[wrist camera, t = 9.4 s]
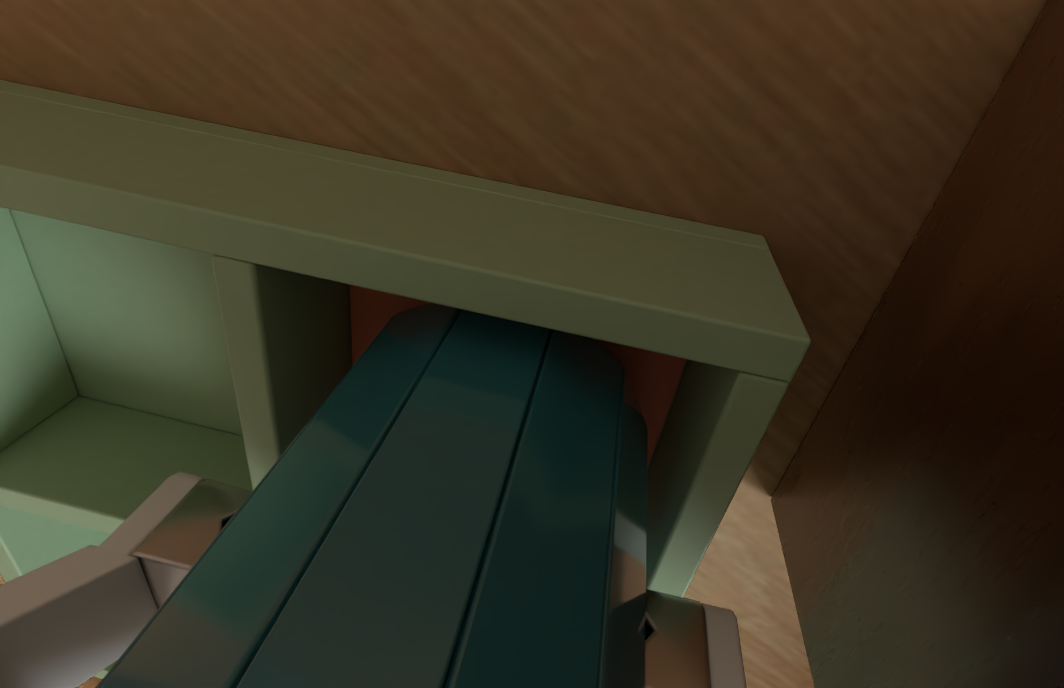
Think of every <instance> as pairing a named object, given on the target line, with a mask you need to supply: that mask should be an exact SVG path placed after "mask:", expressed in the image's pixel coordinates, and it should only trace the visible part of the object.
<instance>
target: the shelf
mask: <svg viewBox="0 0 1064 688" xmlns="http://www.w3.org/2000/svg"><path fill="white" fill-rule="evenodd" d="M771 503H772V507H773V512H774V516H775V520H776V524H777V529H778V533H779V537H780V541H781V546H782V550H783V554H784V558H785V563H786V567H787V571H788V576H789V580H790V584H791V588H792V593H793V597H794V601H795V605H796V610H797V614H798V618H799V622H800V627H801V631H802V635H803V639H804V644H805V648H806V652H807V656H808V661H809V665H810V669H811V674H812V678H813V682H814V686H815V688H1064V0H1049V1H1048V2H1047V4H1046V6H1045V8H1044V10H1043V11H1042V13H1041V15H1040V17H1039V19H1038V20H1037V22H1036V24H1035V26H1034V28H1033V29H1032V31H1031V33H1030V35H1029V37H1028V38H1027V40H1026V42H1025V44H1024V46H1023V47H1022V49H1021V51H1020V53H1019V55H1018V56H1017V58H1016V60H1015V62H1014V64H1013V65H1012V67H1011V69H1010V71H1009V73H1008V74H1007V76H1006V78H1005V80H1004V82H1003V83H1002V85H1001V87H1000V89H999V90H998V92H997V94H996V96H995V98H994V99H993V101H992V103H991V105H990V107H989V108H988V110H987V112H986V114H985V116H984V117H983V119H982V121H981V123H980V125H979V126H978V128H977V130H976V132H975V134H974V135H973V137H972V139H971V141H970V143H969V144H968V146H967V148H966V150H965V152H964V153H963V155H962V157H961V159H960V161H959V162H958V164H957V166H956V168H955V170H954V171H953V173H952V175H951V177H950V179H949V180H948V182H947V184H946V186H945V188H944V189H943V191H942V193H941V195H940V197H939V198H938V200H937V202H936V204H935V206H934V207H933V209H932V211H931V213H930V215H929V216H928V218H927V220H926V222H925V224H924V225H923V227H922V229H921V231H920V232H919V234H918V236H917V238H916V240H915V241H914V243H913V245H912V247H911V249H910V250H909V252H908V254H907V256H906V258H905V259H904V261H903V263H902V265H901V267H900V268H899V270H898V272H897V274H896V276H895V277H894V279H893V281H892V283H891V285H890V286H889V288H888V290H887V292H886V294H885V295H884V297H883V299H882V301H881V303H880V304H879V306H878V308H877V310H876V312H875V313H874V315H873V317H872V319H871V321H870V322H869V324H868V326H867V328H866V330H865V331H864V333H863V335H862V337H861V339H860V340H859V342H858V344H857V346H856V348H855V349H854V351H853V353H852V355H851V357H850V358H849V360H848V362H847V364H846V366H845V367H844V369H843V371H842V373H841V374H840V376H839V378H838V380H837V382H836V383H835V385H834V387H833V389H832V391H831V392H830V394H829V396H828V398H827V400H826V401H825V403H824V405H823V407H822V409H821V410H820V412H819V414H818V416H817V418H816V419H815V421H814V423H813V425H812V427H811V428H810V430H809V432H808V434H807V436H806V437H805V439H804V441H803V443H802V445H801V446H800V448H799V450H798V452H797V454H796V455H795V457H794V459H793V461H792V463H791V464H790V466H789V468H788V470H787V472H786V473H785V475H784V477H783V479H782V481H781V482H780V484H779V486H778V488H777V490H776V491H775V493H774V495H773V497H772V499H771Z"/></svg>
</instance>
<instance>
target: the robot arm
mask: <svg viewBox="0 0 1064 688" xmlns="http://www.w3.org/2000/svg"><path fill="white" fill-rule="evenodd" d="M251 493H252V490H248V489H244V488H241V487H237V486H233V485H229V484H226V483H222V482H218V481H215V480H211V479H208V478H204V477H200V476H196V475H192V474H188V473H184V472H178V473H176V474H174V475H172V476H170V477H168V478H167V479H166V480H165V481H164V482H163V483H162V484H161V485H160V486H159V487H158V488H157V489H156V490H155V491H154V492H153V493H152V494H151V495H150V496H149V497H148V498H147V499H146V500H145V501H144V502H143V503H142V504H141V505H140V506H139V507H138V508H137V509H136V510H135V511H134V512H133V513H132V514H131V515H130V516H129V517H128V518H127V519H126V520H125V521H124V522H123V523H122V524H121V525H120V526H119V527H118V528H117V529H116V530H115V531H114V532H113V533H112V534H111V535H110V536H109V537H108V538H107V539H106V540H105V541H104V542H103V543H102V544H101V545H100V546H99V547H98V546H93V545H89V546H86V547H84V548H82V549H80V550H78V551H75V552H73V553H71V554H69V555H66V556H64V557H62V558H60V559H57V560H55V561H53V562H51V563H49V564H46V565H44V566H42V567H40V568H37V569H35V570H33V571H31V572H28V573H26V574H24V575H22V576H20V577H17V578H15V579H13V580H11V581H8V582H6V583H4V584H2V585H0V688H76V687H78V686H79V685H81V684H82V683H84V682H85V681H87V680H88V679H90V678H91V677H93V676H94V675H96V674H97V673H99V672H100V671H102V670H103V669H105V668H106V667H107V666H109V665H110V664H112V663H113V662H115V661H116V660H118V659H119V658H120V657H121V655H122V654H123V653H124V652H125V650H126V649H127V648H128V647H129V645H130V644H131V643H132V642H133V640H134V639H135V638H136V637H137V635H138V634H139V633H140V632H141V630H142V629H143V628H144V627H145V625H146V624H147V623H148V622H149V620H150V619H151V618H152V617H153V615H154V614H155V613H156V611H157V610H158V609H159V608H160V606H161V605H162V604H163V603H164V601H165V600H166V599H167V598H168V596H169V595H170V594H171V593H172V591H173V590H174V589H175V588H176V586H177V585H178V584H179V583H180V581H181V580H182V579H183V578H184V576H185V575H186V574H187V573H188V571H189V570H190V569H191V568H192V566H193V565H194V564H195V563H196V561H197V560H198V559H199V558H200V556H201V555H202V554H203V553H204V551H205V550H206V549H207V548H208V546H209V545H210V544H211V543H212V541H213V540H214V539H215V538H216V536H217V535H218V534H219V533H220V531H221V530H222V529H223V528H224V526H225V525H226V524H227V523H228V521H229V520H230V519H231V518H232V516H233V515H234V514H235V513H236V511H237V510H238V509H239V508H240V506H241V505H242V504H243V503H244V501H245V500H246V499H247V498H248V496H249V495H250V494H251ZM645 624H646V626H645V688H747V687H746V680H745V673H744V666H743V659H742V652H741V645H740V638H739V631H738V624H737V618H736V616H735V614H734V612H733V611H731V610H730V609H725V608H721V607H716V606H712V605H708V604H703V603H700V601H696V600H691V599H687V598H683V597H679V596H674V595H670V594H666V593H661V592H657V591H653V590H649V589H646V612H645Z"/></svg>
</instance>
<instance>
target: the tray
mask: <svg viewBox="0 0 1064 688" xmlns="http://www.w3.org/2000/svg"><path fill="white" fill-rule="evenodd" d="M428 303H435V304H440V305H445V306H449V307H454V308H458V309H463V310H467V311H472V312H476V313H481V314H485V315H490V316H494V317H499V318H503V319H508V320H512V321H517V322H521V323H526V324H530V325H535V326H539V327H544V328H548V329H553V330H557V331H562V332H566V333H571V334H575V335H580V336H584V337H589V338H592V339H594V340H595V341H596V342H597V343H599V344H600V345H601V346H602V347H604V348H605V349H606V350H607V351H608V352H610V353H611V354H612V355H613V356H615V357H616V358H617V359H618V360H620V361H621V362H622V367H623V366H625V368H626V370H627V372H628V375H629V378H630V381H631V384H632V386H633V389H634V392H635V395H636V398H637V400H638V403H639V406H640V409H641V411H642V414H643V417H644V420H645V423H646V425H647V428H648V447H647V537H646V589H649V590H653V591H657V592H661V593H666V594H670V595H674V596H679V597H683V596H684V594H685V592H686V590H687V588H688V586H689V584H690V582H691V580H692V578H693V576H694V574H695V572H696V570H697V568H698V566H699V564H700V562H701V560H702V558H703V556H704V554H705V552H706V550H707V548H708V546H709V544H710V542H711V540H712V538H713V536H714V534H715V532H716V530H717V528H718V526H719V524H720V522H721V520H722V518H723V516H724V514H725V512H726V510H727V508H728V506H729V504H730V502H731V500H732V498H733V496H734V494H735V492H736V490H737V488H738V486H739V484H740V482H741V480H742V478H743V476H744V474H745V472H746V470H747V468H748V466H749V464H750V462H751V460H752V458H753V456H754V454H755V452H756V450H757V448H758V446H759V444H760V442H761V440H762V438H763V436H764V434H765V432H766V430H767V428H768V426H769V424H770V422H771V420H772V418H773V416H774V414H775V412H776V410H777V408H778V406H779V404H780V402H781V400H782V398H783V396H784V394H785V392H786V390H787V388H788V386H789V381H791V380H792V379H793V377H794V375H795V373H796V371H797V369H798V367H799V365H800V363H801V361H802V359H803V357H804V355H805V353H806V351H807V349H808V347H809V345H810V343H811V339H810V337H809V335H808V333H807V331H806V328H805V326H804V324H803V322H802V320H801V317H800V315H799V313H798V311H797V309H796V307H795V304H794V302H793V300H792V298H791V296H790V293H789V291H788V289H787V287H786V285H785V282H784V280H783V278H782V276H781V274H780V272H779V269H778V267H777V265H776V263H775V261H774V258H773V256H772V254H771V252H770V249H769V247H768V244H767V242H766V240H765V238H764V236H762V235H757V234H752V233H748V232H743V231H738V230H733V229H728V228H723V227H718V226H713V225H708V224H704V223H699V222H694V221H689V220H684V219H679V218H674V217H669V216H664V215H659V214H655V213H650V212H645V211H640V210H635V209H630V208H625V207H620V206H615V205H611V204H606V203H601V202H596V201H591V200H586V199H581V198H576V197H571V196H567V195H562V194H557V193H552V192H547V191H542V190H537V189H532V188H527V187H522V186H518V185H513V184H508V183H503V182H498V181H493V180H488V179H483V178H478V177H474V176H469V175H464V174H459V173H454V172H449V171H444V170H439V169H434V168H430V167H425V166H420V165H415V164H410V163H405V162H400V161H395V160H390V159H385V158H381V157H376V156H371V155H366V154H361V153H356V152H351V151H346V150H341V149H337V148H332V147H327V146H322V145H317V144H312V143H307V142H302V141H297V140H293V139H288V138H283V137H278V136H273V135H268V134H263V133H258V132H253V131H248V130H244V129H239V128H234V127H229V126H224V125H219V124H214V123H209V122H204V121H200V120H195V119H190V118H185V117H180V116H175V115H170V114H165V113H160V112H156V111H151V110H146V109H141V108H136V107H131V106H126V105H121V104H116V103H111V102H107V101H102V100H97V99H92V98H87V97H82V96H77V95H72V94H67V93H63V92H58V91H53V90H48V89H43V88H38V87H33V86H28V85H23V84H19V83H14V82H9V81H4V80H0V574H1V576H2V578H3V579H4V581H5V583H6V582H8V581H11V580H13V579H15V578H17V577H20V576H22V575H24V574H26V573H28V572H31V571H33V570H35V569H37V568H40V567H42V566H44V565H46V564H49V563H51V562H53V561H55V560H57V559H60V558H62V557H64V556H66V555H69V554H71V553H73V552H75V551H78V550H80V549H82V548H84V547H86V546H89V545H93V546H98V547H99V546H100V545H101V544H102V543H103V542H104V541H105V540H106V539H107V538H108V537H109V536H110V535H111V534H112V533H113V532H114V531H115V530H116V529H117V528H118V527H119V526H120V525H121V524H122V523H123V522H124V521H125V520H126V519H127V518H128V517H129V516H130V515H131V514H132V513H133V512H134V511H135V510H136V509H137V508H138V507H139V506H140V505H141V504H142V503H143V502H144V501H145V500H146V499H147V498H148V497H149V496H150V495H151V494H152V493H153V492H154V491H155V490H156V489H157V488H158V487H159V486H160V485H161V484H162V483H163V482H164V481H165V480H166V479H167V478H168V477H170V476H172V475H174V474H176V473H178V472H184V473H188V474H192V475H196V476H200V477H204V478H208V479H211V480H215V481H218V482H222V483H226V484H229V485H233V486H237V487H241V488H244V489H248V490H252V491H253V490H254V489H255V488H256V486H257V485H258V484H259V483H260V481H261V480H262V479H263V478H264V476H265V475H266V474H267V473H268V471H269V470H270V469H271V468H272V466H273V465H274V464H275V463H276V461H277V460H278V459H279V457H280V456H281V455H282V454H283V452H284V451H285V450H286V449H287V447H288V446H289V445H290V444H291V442H292V441H293V440H294V439H295V437H296V436H297V435H298V434H299V432H300V431H301V430H302V429H303V427H304V426H305V425H306V424H307V422H308V421H309V420H310V419H311V417H312V416H313V415H314V414H315V412H316V411H317V410H318V409H319V407H320V406H321V405H322V404H323V402H324V401H325V400H326V399H327V397H328V396H329V395H330V394H331V392H332V391H333V390H334V389H335V387H336V386H337V385H338V384H339V382H340V381H341V380H342V379H343V377H344V376H345V375H346V374H347V372H348V371H349V370H350V369H351V367H352V366H353V365H354V364H355V362H356V361H357V360H358V359H359V357H360V356H361V355H362V354H363V352H364V351H365V350H366V349H367V347H368V346H369V345H370V344H371V342H372V341H373V340H374V339H375V337H376V336H377V335H378V334H379V332H380V331H381V330H382V329H383V327H384V326H385V325H386V324H387V322H388V321H389V320H390V319H391V317H392V316H393V315H396V314H397V313H398V312H401V311H404V310H408V309H411V308H415V307H418V306H421V305H425V304H428ZM116 662H117V660H116V661H115V662H113V663H112V664H110V665H109V666H107V667H106V668H105V669H103V670H102V671H100V672H99V673H97V674H96V675H94V676H93V677H97V678H100V679H103V678H104V677H105V675H106V674H107V673H108V672H109V670H110V669H111V668H112V667H113V665H114V664H115V663H116Z"/></svg>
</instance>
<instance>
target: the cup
mask: <svg viewBox="0 0 1064 688" xmlns="http://www.w3.org/2000/svg"><path fill="white" fill-rule="evenodd" d="M647 447H648V428H647V425H646V423H645V420H644V417H643V414H642V411H641V409H640V406H639V403H638V400H637V398H636V395H635V392H634V389H633V386H632V384H631V381H630V378H629V375H628V372H627V370H626V368H625V366H623V367H622V362H621V361H620V360H618V359H617V358H616V357H615V356H613V355H612V354H611V353H610V352H608V351H607V350H606V349H605V348H604V347H602V346H601V345H600V344H599V343H597V342H596V341H595V340H594V339H592V338H589V337H584V336H580V335H575V334H571V333H566V332H562V331H557V330H553V329H548V328H544V327H539V326H535V325H530V324H526V323H521V322H517V321H512V320H508V319H503V318H499V317H494V316H490V315H485V314H481V313H476V312H472V311H467V310H463V309H458V308H454V307H449V306H445V305H440V304H435V303H428V304H425V305H421V306H418V307H415V308H411V309H408V310H404V311H401V312H398V313H397V314H396V315H393V316H392V317H391V319H390V320H389V321H388V322H387V324H386V325H385V326H384V327H383V329H382V330H381V331H380V332H379V334H378V335H377V336H376V337H375V339H374V340H373V341H372V342H371V344H370V345H369V346H368V347H367V349H366V350H365V351H364V352H363V354H362V355H361V356H360V357H359V359H358V360H357V361H356V362H355V364H354V365H353V366H352V367H351V369H350V370H349V371H348V372H347V374H346V375H345V376H344V377H343V379H342V380H341V381H340V382H339V384H338V385H337V386H336V387H335V389H334V390H333V391H332V392H331V394H330V395H329V396H328V397H327V399H326V400H325V401H324V402H323V404H322V405H321V406H320V407H319V409H318V410H317V411H316V412H315V414H314V415H313V416H312V417H311V419H310V420H309V421H308V422H307V424H306V425H305V426H304V427H303V429H302V430H301V431H300V432H299V434H298V435H297V436H296V437H295V439H294V440H293V441H292V442H291V444H290V445H289V446H288V447H287V449H286V450H285V451H284V452H283V454H282V455H281V456H280V457H279V459H278V460H277V461H276V463H275V464H274V465H273V466H272V468H271V469H270V470H269V471H268V473H267V474H266V475H265V476H264V478H263V479H262V480H261V481H260V483H259V484H258V485H257V486H256V488H255V489H254V490H253V491H252V493H251V494H250V495H249V496H248V498H247V499H246V500H245V501H244V503H243V504H242V505H241V506H240V508H239V509H238V510H237V511H236V513H235V514H234V515H233V516H232V518H231V519H230V520H229V521H228V523H227V524H226V525H225V526H224V528H223V529H222V530H221V531H220V533H219V534H218V535H217V536H216V538H215V539H214V540H213V541H212V543H211V544H210V545H209V546H208V548H207V549H206V550H205V551H204V553H203V554H202V555H201V556H200V558H199V559H198V560H197V561H196V563H195V564H194V565H193V566H192V568H191V569H190V570H189V571H188V573H187V574H186V575H185V576H184V578H183V579H182V580H181V581H180V583H179V584H178V585H177V586H176V588H175V589H174V590H173V591H172V593H171V594H170V595H169V596H168V598H167V599H166V600H165V601H164V603H163V604H162V605H161V606H160V608H159V609H158V610H157V611H156V613H155V614H154V615H153V617H152V618H151V619H150V620H149V622H148V623H147V624H146V625H145V627H144V628H143V629H142V630H141V632H140V633H139V634H138V635H137V637H136V638H135V639H134V640H133V642H132V643H131V644H130V645H129V647H128V648H127V649H126V650H125V652H124V653H123V654H122V655H121V657H120V658H119V659H118V660H117V662H116V663H115V664H114V665H113V667H112V668H111V669H110V670H109V672H108V673H107V674H106V675H105V677H104V678H103V679H102V680H101V682H100V683H99V684H98V685H97V687H96V688H645V626H646V624H645V612H646V537H647Z"/></svg>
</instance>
